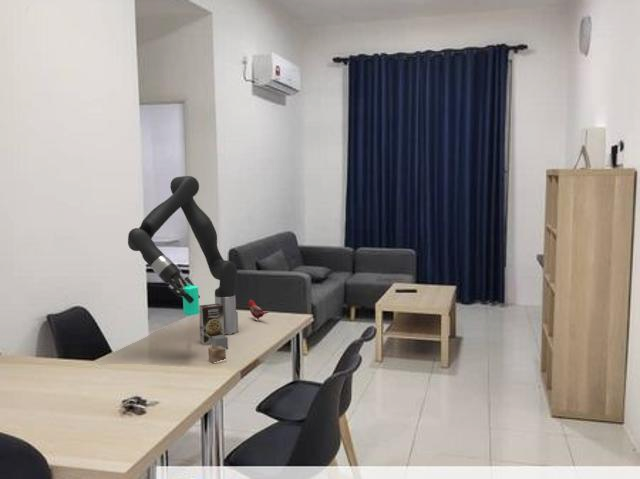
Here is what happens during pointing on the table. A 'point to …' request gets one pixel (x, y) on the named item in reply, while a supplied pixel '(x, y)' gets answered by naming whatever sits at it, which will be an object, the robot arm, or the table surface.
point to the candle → (194, 306)
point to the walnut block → (216, 353)
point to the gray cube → (219, 341)
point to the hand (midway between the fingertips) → (195, 300)
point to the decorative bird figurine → (255, 310)
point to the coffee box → (211, 322)
